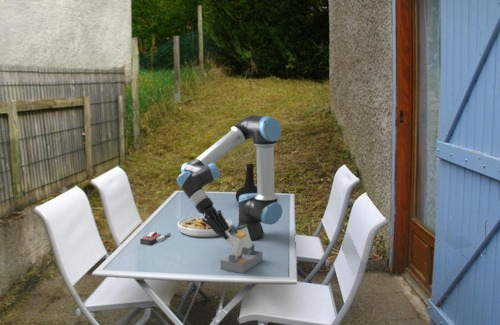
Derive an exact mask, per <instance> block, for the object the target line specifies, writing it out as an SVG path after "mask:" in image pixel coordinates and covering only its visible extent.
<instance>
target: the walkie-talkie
mask: <svg viewBox="0 0 500 325" xmlns="http://www.w3.org/2000/svg"><path fill="white" fill-rule="evenodd" d="M169 235H171V232H169V233H167V234H165V235H162V234H161V233H157V231H151V232H149V233H148V235H145V236H143V237H142V238H140V240H139V243H140V244H141V245H147V246H151V245H154V244H155V243H161V242H163V241H165V239H166V237H169ZM160 241H161V242H160ZM153 243H154V244H153Z"/></svg>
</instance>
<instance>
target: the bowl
mask: <svg viewBox="0 0 500 325" xmlns="http://www.w3.org/2000/svg"><path fill="white" fill-rule="evenodd" d="M202 218H203V215H197V216H189V217H185V218H182V219H180V220H179V221H178V222H177V229H178V230H179V231H180V232H181V233H182V234H183V235H186V236H189V237H193V238H194V237H195V238H214V237H220V236H221V235H219V234H216V233H215V231H214V230H213V229H212V228H211V227H210V226H209V225H208V224H207V223H206V222H204V221H203V220H202ZM224 219H225V221H226V223H227V224H228V226H229V229H228V232H229V233H230V231H231V230H232V228H233V221H232V220H231V219H230V218H226V217H224Z"/></svg>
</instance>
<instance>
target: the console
mask: <svg viewBox="0 0 500 325" xmlns="http://www.w3.org/2000/svg"><path fill="white" fill-rule="evenodd" d="M252 245H253V246H252V247H253V249H252V250H250V251H248V248H245V247H243V248H242V252H241V255H240V257H238V258H236V259H235V256H234V255H231V254H228V255H227V256H225V257H223V258H222V259H220V270H224V271H228V272H229V271H230V272H234V273H239V274H244V273H245V272H247V271H248V270H249V269H251V268H253V267H255V266H256V265H257V264H259V263H261V262H262V261H263V251H259V250H255V243H252Z"/></svg>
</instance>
